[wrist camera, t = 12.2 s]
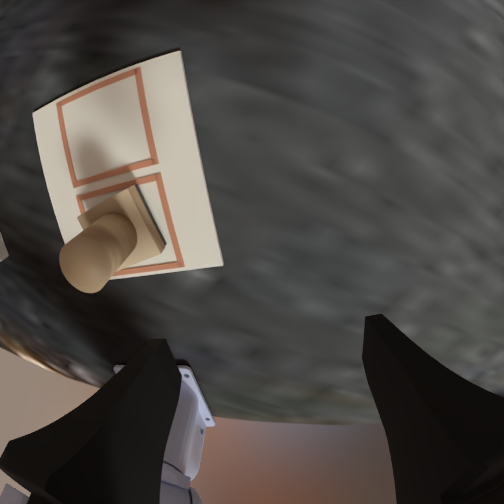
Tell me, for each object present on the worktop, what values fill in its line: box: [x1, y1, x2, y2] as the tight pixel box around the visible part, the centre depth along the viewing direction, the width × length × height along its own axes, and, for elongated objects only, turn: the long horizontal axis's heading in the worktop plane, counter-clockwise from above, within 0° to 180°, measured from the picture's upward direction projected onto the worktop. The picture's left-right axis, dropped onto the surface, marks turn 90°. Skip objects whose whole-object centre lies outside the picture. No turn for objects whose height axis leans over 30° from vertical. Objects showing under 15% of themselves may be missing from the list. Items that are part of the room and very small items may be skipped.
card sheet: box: [33, 51, 224, 280], centre depth 18 cm, size 14×12×1 cm
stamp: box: [59, 184, 167, 293], centre depth 16 cm, size 4×4×6 cm
